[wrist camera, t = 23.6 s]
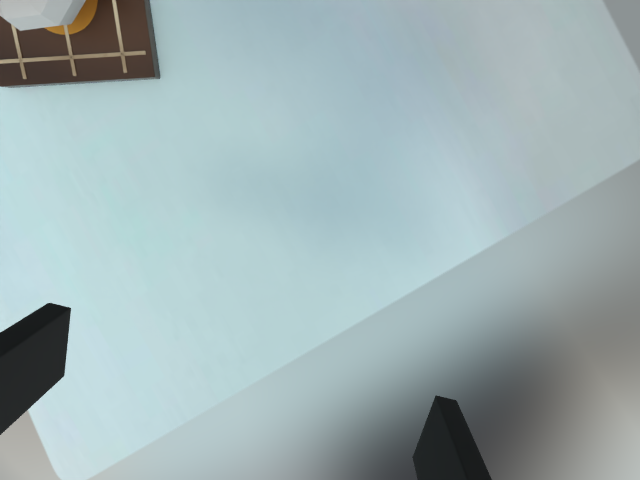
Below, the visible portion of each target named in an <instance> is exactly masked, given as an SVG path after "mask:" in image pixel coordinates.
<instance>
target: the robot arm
mask: <svg viewBox="0 0 640 480" xmlns="http://www.w3.org/2000/svg"><path fill="white" fill-rule="evenodd" d="M70 312H71V308H69V307H65V306H61V305H56V304H52V303H48V304H46V305H44V306H43V307H41V308H40V309H38V310H36V311H35V312H33V313H32V314H30V315H28V316H27V317H25V318H23V319H22V320H20V321H19V322H17V323H15V324H14V325H12V326H10V327H9V328H7V329H6V330H4V331H2V332H1V333H0V435H1V434H2V433H3V432H4V431H5V430H6V429H7V428H8V427H9V426H10V425H12V423H14V422H15V421H16V420H17V419H18V418H19V417H20V416H21V415H22V414H23V413H25V411H27V410H28V409H29V408H30V407H31V406H32V405H33V404H34V403H35V402H36V401H38V400H39V399H40V398H41V397H42V396H43V395H44V394H45V393H46V392H47V391H48V390H49V389H51V388H52V387H53V386H54V385H55V384H56V383H57V382H58V381H59V380H60V379H61V378H62V377H64V373H65V363H66V353H67V343H68V332H69V322H70ZM413 461H414V466H415V470H416V474H417V478H418V480H492V479H491V477H490V475H489V472H488V470H487V469H486V466H485V464H484V461H483V459H482V457H481V455H480V452H479V450H478V448H477V446H476V443H475V441H474V439H473V437H472V434H471V432H470V430H469V428H468V426H467V423H466V421H465V419H464V416H463V414H462V412H461V410H460V407H459V405H458V403H457V401H456V400H452V399H448V398H444V397H440V396H435V399H434V402H433V404H432V407H431V410H430V412H429V415H428V418H427V420H426V423H425V426H424V428H423V431H422V434H421V436H420V439H419V442H418V444H417V447H416V450H415V453H414V455H413Z"/></svg>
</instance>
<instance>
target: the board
mask: <svg viewBox="0 0 640 480" xmlns="http://www.w3.org/2000/svg"><path fill="white" fill-rule="evenodd" d="M147 79H160V74H159V67H158V59H157V52H156V45H155V38H154V31H153V24H152V17H151V10H150V3H149V0H86V1H85V3H84V5H83V6H82V8H81V10H80V11H79V13H78V15H77V16H76V18H75V20H74V21H73V22H72V24H69V25H60V26H52V27H44V28H37V29H30V30H22V31H20V30H19V29H17V28H16V27H15V26H13V25H12V24H11V23H9V22H8V21H7V20H5V19H4V18H3V17H1V16H0V86H1V87H8V88H13V87H30V86H47V85H63V84H80V83H97V82H113V81H130V80H147Z"/></svg>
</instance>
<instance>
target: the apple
mask: <svg viewBox="0 0 640 480" xmlns="http://www.w3.org/2000/svg"><path fill="white" fill-rule="evenodd" d="M85 1H86V0H0V16H1V17H3V18H4V19H5V20H7V21H8V22H9V23H11V24H12V25H13V26H15V27H16V28H17V29H19V30H20V31H22V30H30V29H37V28H44V27H52V26H60V25H69V24H72V22H73V21H74V20H75V18H76V16H77V15H78V13H79V11H80V10H81V8H82V6H83V5H84V3H85Z"/></svg>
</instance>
